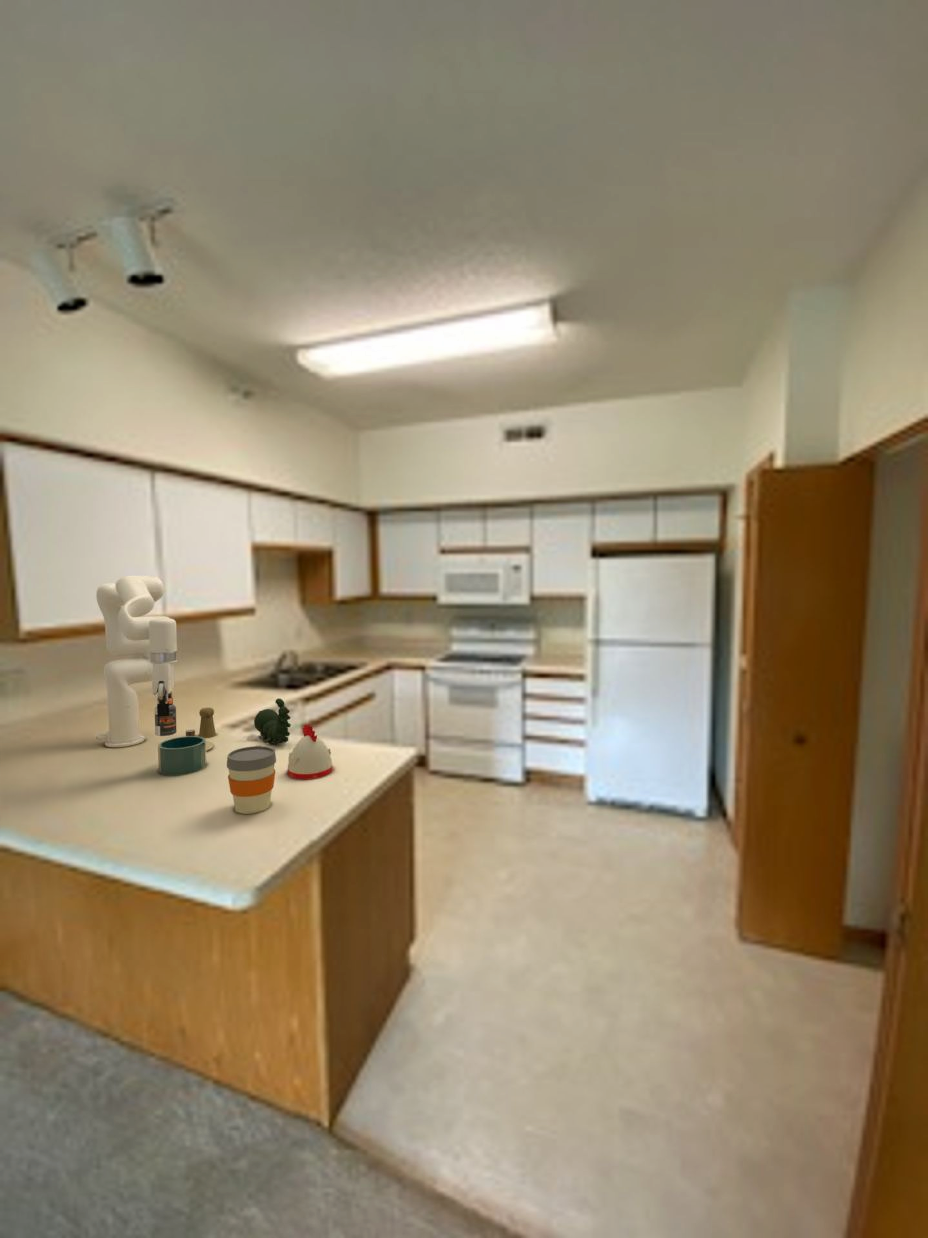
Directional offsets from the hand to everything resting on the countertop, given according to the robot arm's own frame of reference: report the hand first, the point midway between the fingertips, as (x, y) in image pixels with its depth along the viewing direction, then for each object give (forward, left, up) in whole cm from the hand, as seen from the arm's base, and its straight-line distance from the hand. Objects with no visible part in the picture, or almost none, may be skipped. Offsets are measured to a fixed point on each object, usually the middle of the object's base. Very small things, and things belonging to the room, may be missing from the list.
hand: (165, 712), depth 168 cm
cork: (+8, +38, -19) cm, 44 cm away
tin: (+4, +2, -19) cm, 20 cm away
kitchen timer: (+43, -15, -19) cm, 50 cm away
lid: (+4, +21, -19) cm, 29 cm away
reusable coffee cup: (+26, -37, -19) cm, 49 cm away
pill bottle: (0, 0, -7) cm, 7 cm away
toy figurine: (+32, +23, -19) cm, 44 cm away
